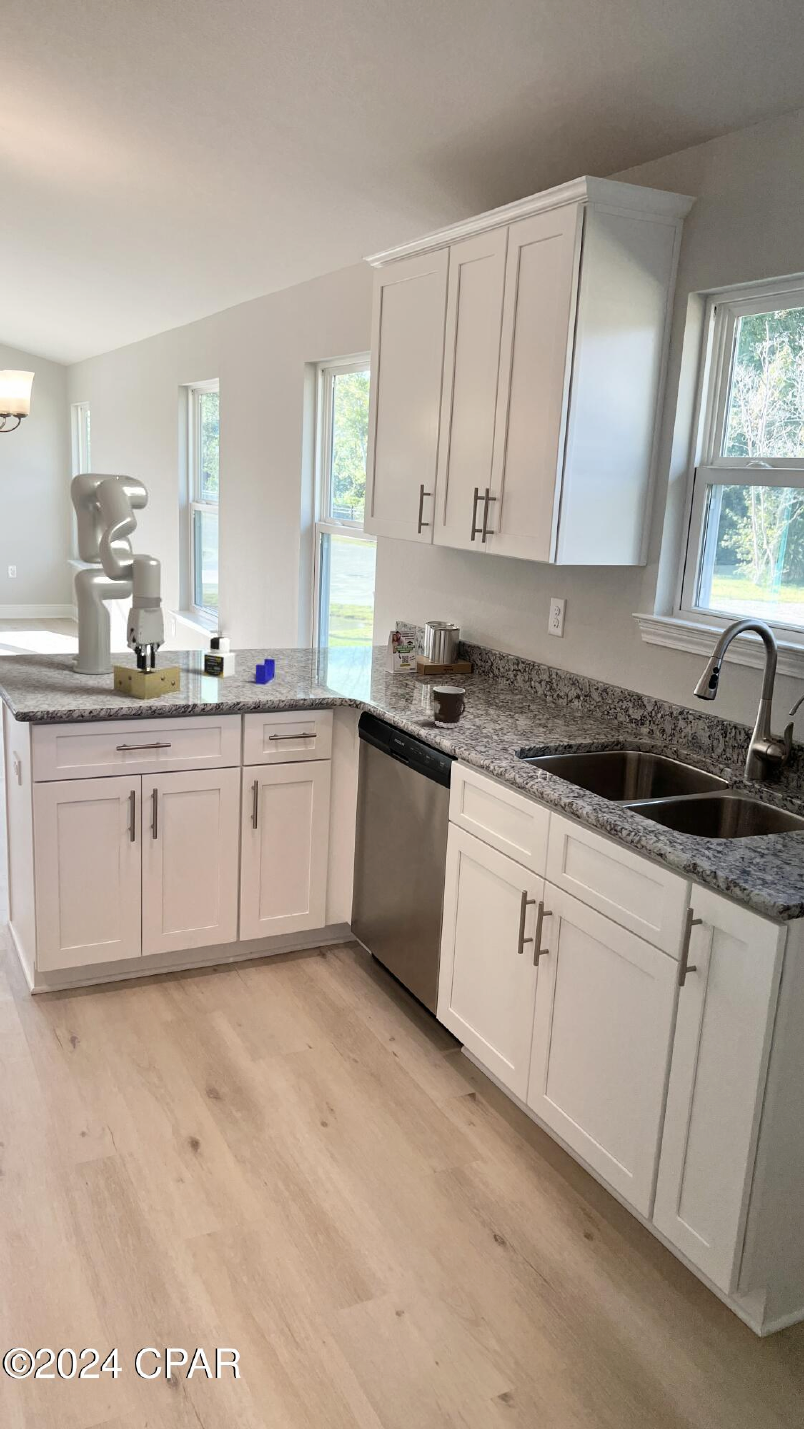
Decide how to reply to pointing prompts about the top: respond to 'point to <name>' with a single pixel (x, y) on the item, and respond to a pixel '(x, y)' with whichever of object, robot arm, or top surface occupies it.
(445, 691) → the coffee mug
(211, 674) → the medicine bottle
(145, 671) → the pin
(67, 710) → the top surface
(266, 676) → the cable clip
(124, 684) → the hinge
